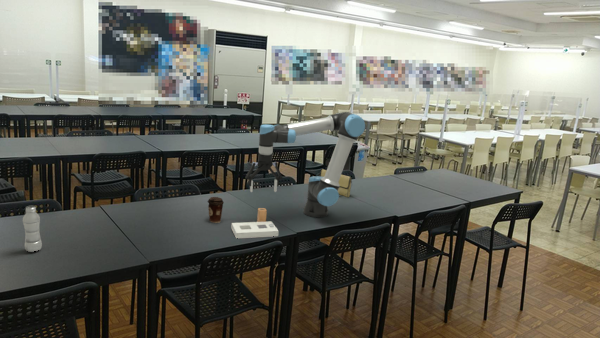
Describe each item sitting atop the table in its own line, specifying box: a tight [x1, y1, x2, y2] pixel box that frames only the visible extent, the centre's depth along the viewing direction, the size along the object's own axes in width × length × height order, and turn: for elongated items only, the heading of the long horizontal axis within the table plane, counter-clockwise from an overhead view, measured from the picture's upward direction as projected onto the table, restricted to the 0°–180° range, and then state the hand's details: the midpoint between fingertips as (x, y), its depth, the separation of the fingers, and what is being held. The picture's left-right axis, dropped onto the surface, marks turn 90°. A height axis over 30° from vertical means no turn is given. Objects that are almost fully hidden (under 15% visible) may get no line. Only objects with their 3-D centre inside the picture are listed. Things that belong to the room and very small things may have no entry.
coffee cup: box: [207, 196, 224, 224], centre depth 241 cm, size 9×8×13 cm
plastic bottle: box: [22, 205, 43, 253], centre depth 188 cm, size 6×7×20 cm
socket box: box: [230, 221, 279, 239], centre depth 230 cm, size 22×14×4 cm, turn 109°
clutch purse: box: [317, 168, 353, 198], centre depth 312 cm, size 30×7×15 cm, turn 47°
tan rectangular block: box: [256, 207, 267, 222], centre depth 244 cm, size 4×4×8 cm
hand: (263, 191), depth 241 cm, fingers open, 13 cm apart
